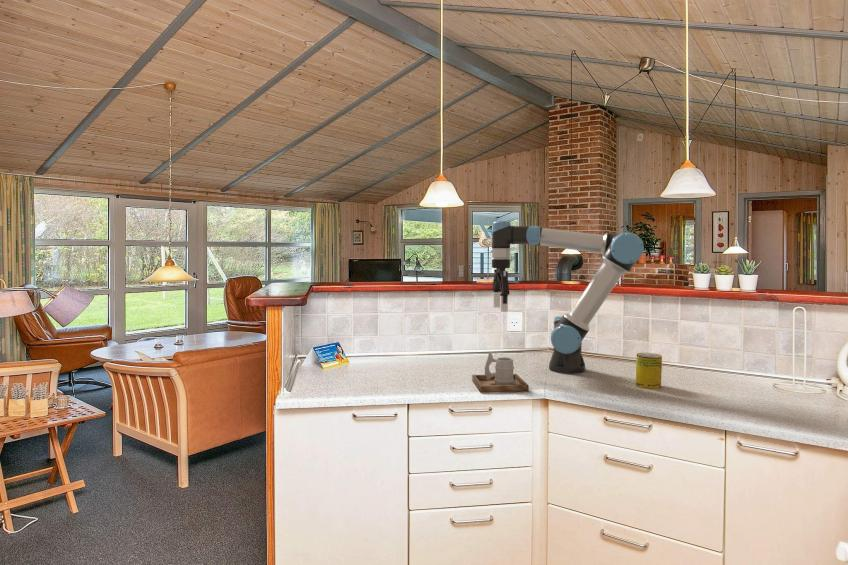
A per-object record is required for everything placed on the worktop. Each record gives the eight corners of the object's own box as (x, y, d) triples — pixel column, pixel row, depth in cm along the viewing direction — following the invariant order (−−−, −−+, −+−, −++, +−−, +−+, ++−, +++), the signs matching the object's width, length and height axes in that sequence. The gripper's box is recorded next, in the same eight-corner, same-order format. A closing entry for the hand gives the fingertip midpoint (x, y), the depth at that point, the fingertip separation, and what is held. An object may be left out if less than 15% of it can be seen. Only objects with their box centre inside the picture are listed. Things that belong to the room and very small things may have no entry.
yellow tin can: (661, 390, 207) (662, 358, 206) (635, 387, 210) (636, 356, 209) (660, 384, 215) (661, 353, 214) (635, 381, 218) (636, 351, 217)
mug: (512, 388, 208) (512, 356, 206) (481, 384, 212) (481, 353, 211) (516, 382, 215) (516, 352, 214) (486, 380, 219) (487, 350, 218)
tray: (516, 379, 222) (516, 373, 221) (528, 391, 205) (528, 385, 205) (472, 380, 220) (472, 374, 220) (480, 392, 203) (480, 386, 203)
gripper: (485, 257, 242) (485, 305, 243) (498, 259, 217) (498, 313, 219) (502, 257, 242) (502, 305, 244) (517, 259, 218) (516, 313, 219)
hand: (500, 309), depth 231 cm, fingers open, 13 cm apart
